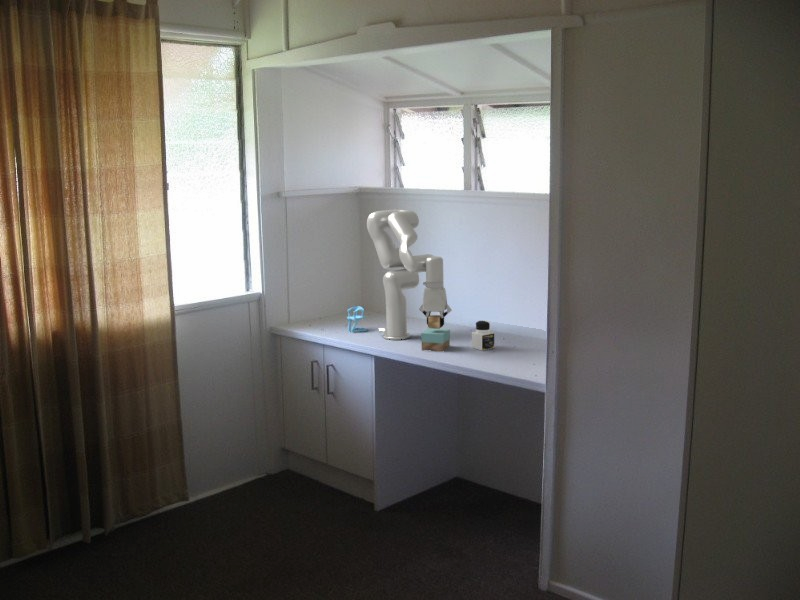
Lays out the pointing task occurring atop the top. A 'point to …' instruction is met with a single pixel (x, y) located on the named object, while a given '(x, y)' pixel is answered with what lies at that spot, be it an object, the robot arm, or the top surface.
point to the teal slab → (435, 335)
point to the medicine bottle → (482, 336)
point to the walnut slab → (436, 346)
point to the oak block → (434, 321)
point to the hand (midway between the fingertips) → (435, 325)
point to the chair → (355, 319)
